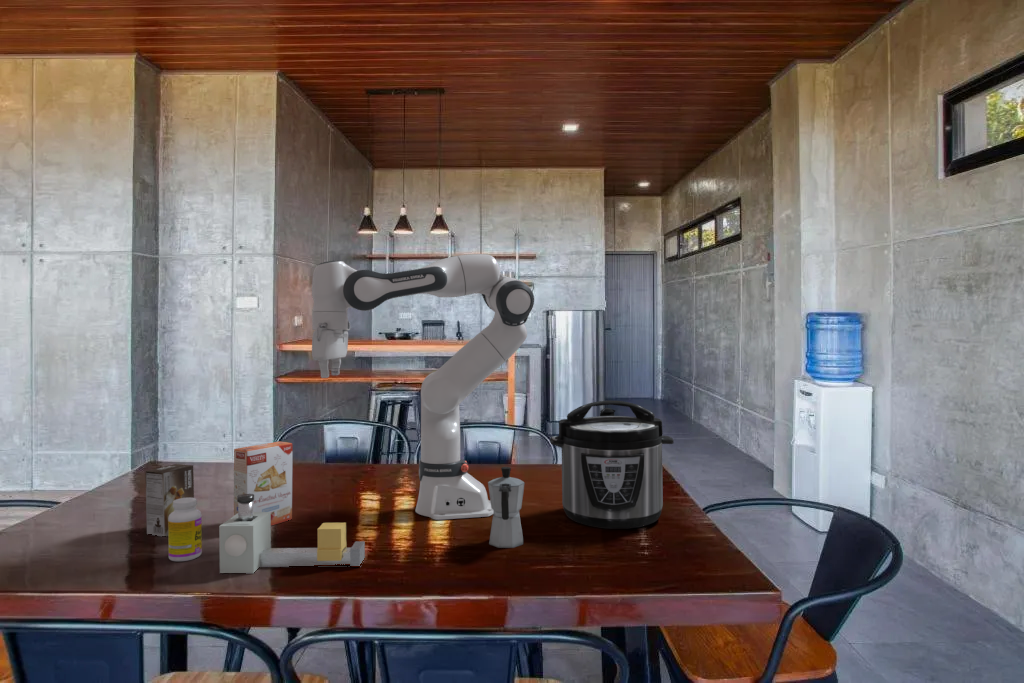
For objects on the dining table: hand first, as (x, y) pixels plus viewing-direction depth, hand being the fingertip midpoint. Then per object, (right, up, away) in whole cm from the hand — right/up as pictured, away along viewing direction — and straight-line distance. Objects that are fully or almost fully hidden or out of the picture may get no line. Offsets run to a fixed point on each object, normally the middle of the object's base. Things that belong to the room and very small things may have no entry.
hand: (330, 376), depth 163 cm
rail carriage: (+8, -38, -27) cm, 47 cm away
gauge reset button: (-10, -31, -27) cm, 43 cm away
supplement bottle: (-26, -39, -23) cm, 52 cm away
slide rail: (+3, -39, -27) cm, 48 cm away
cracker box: (-18, -39, +1) cm, 43 cm away
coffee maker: (+46, -39, -14) cm, 62 cm away
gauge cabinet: (-10, -39, -27) cm, 49 cm away
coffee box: (-39, -39, -4) cm, 56 cm away
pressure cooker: (+74, -39, +7) cm, 84 cm away
